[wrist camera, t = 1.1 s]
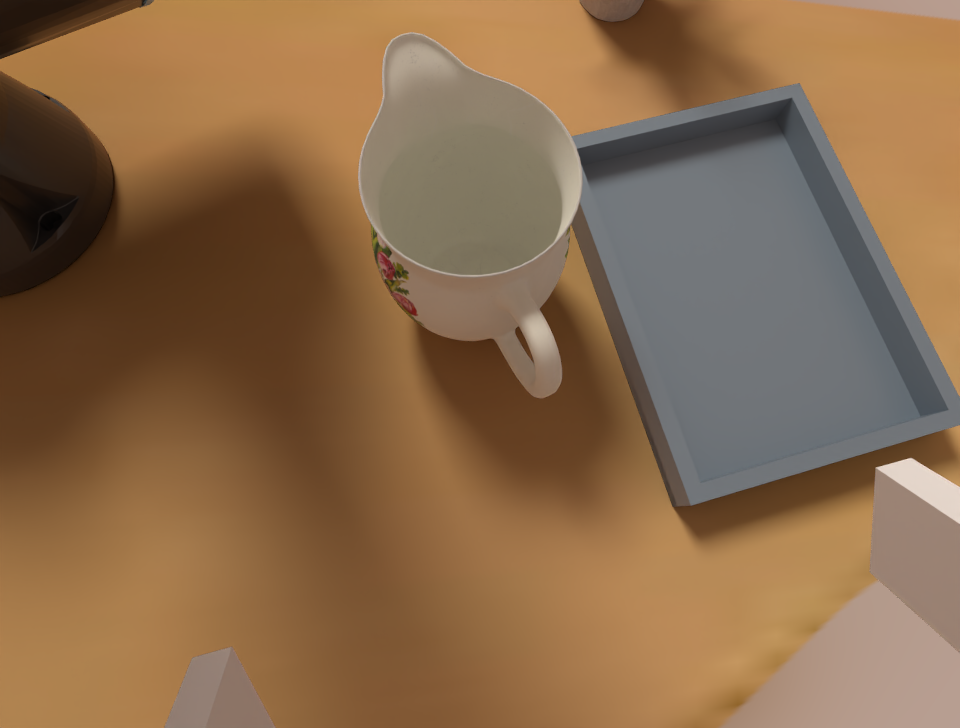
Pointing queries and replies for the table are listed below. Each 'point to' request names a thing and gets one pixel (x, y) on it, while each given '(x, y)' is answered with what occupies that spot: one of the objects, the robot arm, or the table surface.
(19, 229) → the robot arm
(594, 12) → the house plant
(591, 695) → the table surface
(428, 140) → the pitcher
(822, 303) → the tray
